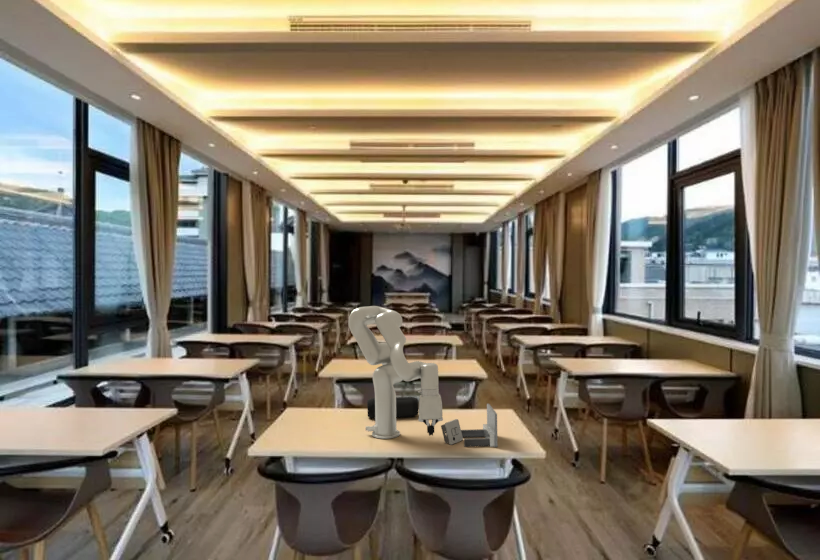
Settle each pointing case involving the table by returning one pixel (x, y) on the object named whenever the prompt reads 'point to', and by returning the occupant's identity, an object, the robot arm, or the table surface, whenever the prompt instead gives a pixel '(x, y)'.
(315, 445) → the table surface
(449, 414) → the table surface
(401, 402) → the portable speaker
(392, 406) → the robot arm
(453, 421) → the electrical switch
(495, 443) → the rail mount
